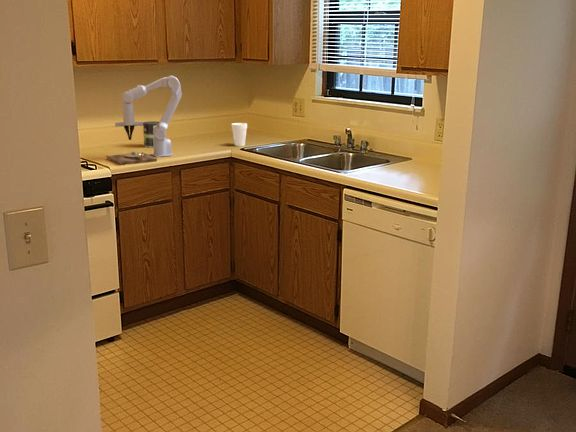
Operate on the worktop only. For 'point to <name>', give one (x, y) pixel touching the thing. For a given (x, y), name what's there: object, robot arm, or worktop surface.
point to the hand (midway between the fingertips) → (130, 139)
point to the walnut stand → (131, 159)
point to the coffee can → (149, 133)
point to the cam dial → (134, 155)
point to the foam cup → (239, 133)
